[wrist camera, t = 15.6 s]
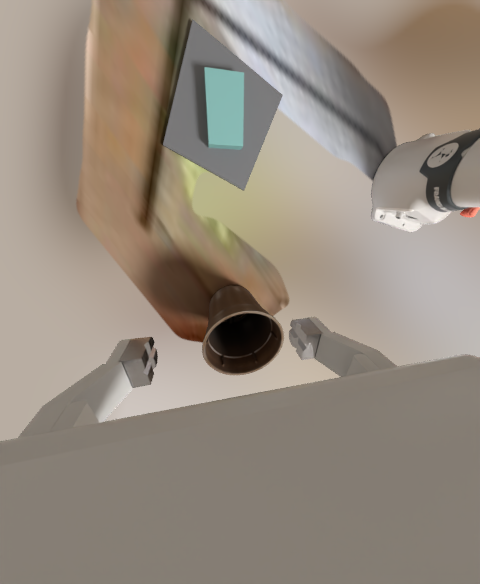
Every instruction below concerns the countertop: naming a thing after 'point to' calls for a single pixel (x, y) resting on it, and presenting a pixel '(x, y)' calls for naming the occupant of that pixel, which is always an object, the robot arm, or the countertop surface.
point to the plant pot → (240, 333)
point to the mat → (193, 119)
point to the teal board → (224, 108)
